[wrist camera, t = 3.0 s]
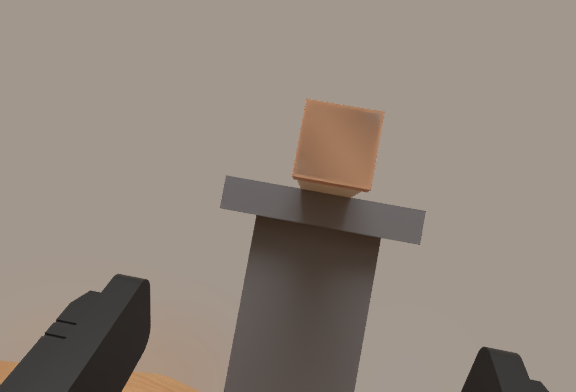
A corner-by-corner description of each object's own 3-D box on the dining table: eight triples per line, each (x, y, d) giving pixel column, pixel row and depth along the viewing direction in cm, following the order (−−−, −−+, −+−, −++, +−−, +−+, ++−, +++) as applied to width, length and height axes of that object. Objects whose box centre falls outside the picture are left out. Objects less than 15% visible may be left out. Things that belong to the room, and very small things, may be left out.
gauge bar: (370, 189, 19) (384, 112, 19) (292, 175, 19) (306, 98, 19) (338, 206, 43) (344, 172, 43) (304, 200, 43) (310, 166, 43)
